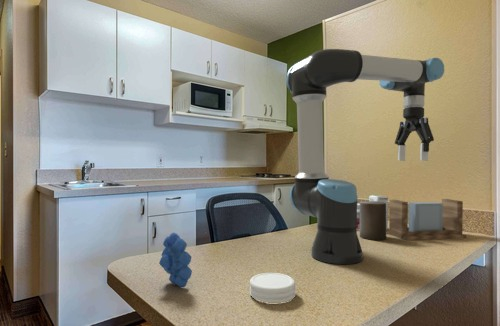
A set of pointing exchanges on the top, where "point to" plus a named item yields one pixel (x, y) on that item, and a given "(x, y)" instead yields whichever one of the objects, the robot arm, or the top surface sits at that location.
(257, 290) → the white round jar
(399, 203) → the frame
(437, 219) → the door panel
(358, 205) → the pill bottle
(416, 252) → the top surface
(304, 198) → the robot arm
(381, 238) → the pillar candle
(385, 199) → the syrup box
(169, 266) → the grapes
